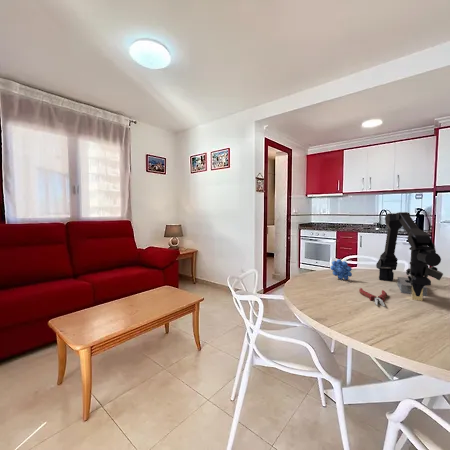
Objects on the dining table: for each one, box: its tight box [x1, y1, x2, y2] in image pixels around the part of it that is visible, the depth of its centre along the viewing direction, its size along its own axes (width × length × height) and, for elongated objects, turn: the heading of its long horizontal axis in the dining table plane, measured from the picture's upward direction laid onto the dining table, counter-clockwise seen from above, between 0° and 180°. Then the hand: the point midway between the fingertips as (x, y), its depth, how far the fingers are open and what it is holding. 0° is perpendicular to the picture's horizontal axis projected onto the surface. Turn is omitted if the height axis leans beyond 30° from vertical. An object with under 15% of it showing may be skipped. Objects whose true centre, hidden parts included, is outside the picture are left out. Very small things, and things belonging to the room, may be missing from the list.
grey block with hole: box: [396, 276, 428, 297], centre depth 124 cm, size 10×16×4 cm, turn 150°
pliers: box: [358, 287, 388, 307], centre depth 111 cm, size 12×20×3 cm, turn 159°
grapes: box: [330, 258, 353, 281], centre depth 141 cm, size 12×7×12 cm, turn 56°
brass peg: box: [410, 286, 424, 302], centre depth 111 cm, size 4×4×8 cm
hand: (416, 294), depth 111 cm, fingers open, 5 cm apart
